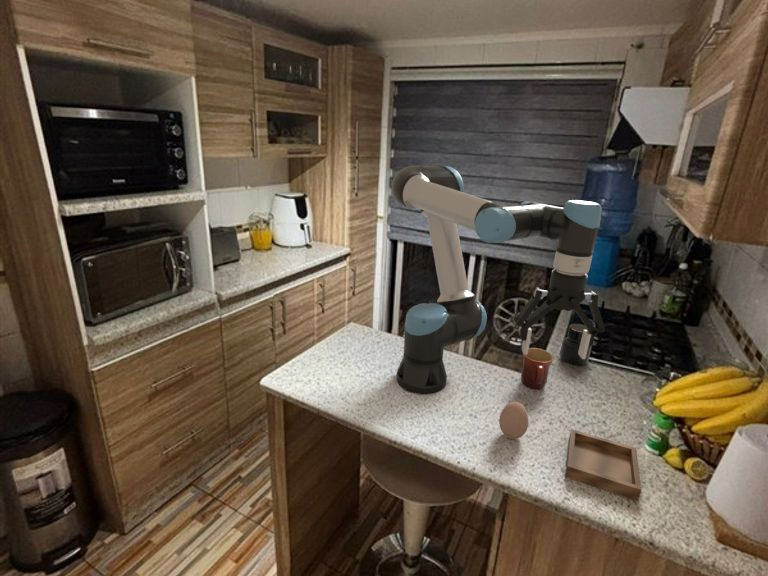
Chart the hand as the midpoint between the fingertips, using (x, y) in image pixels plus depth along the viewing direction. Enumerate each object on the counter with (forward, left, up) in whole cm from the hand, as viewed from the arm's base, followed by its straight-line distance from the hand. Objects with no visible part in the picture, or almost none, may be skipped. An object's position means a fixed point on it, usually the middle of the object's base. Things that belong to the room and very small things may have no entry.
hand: (552, 354), depth 101 cm
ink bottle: (+6, +43, -21) cm, 48 cm away
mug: (-4, +18, -21) cm, 28 cm away
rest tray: (+14, -9, -21) cm, 27 cm away
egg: (-6, -8, -21) cm, 23 cm away
